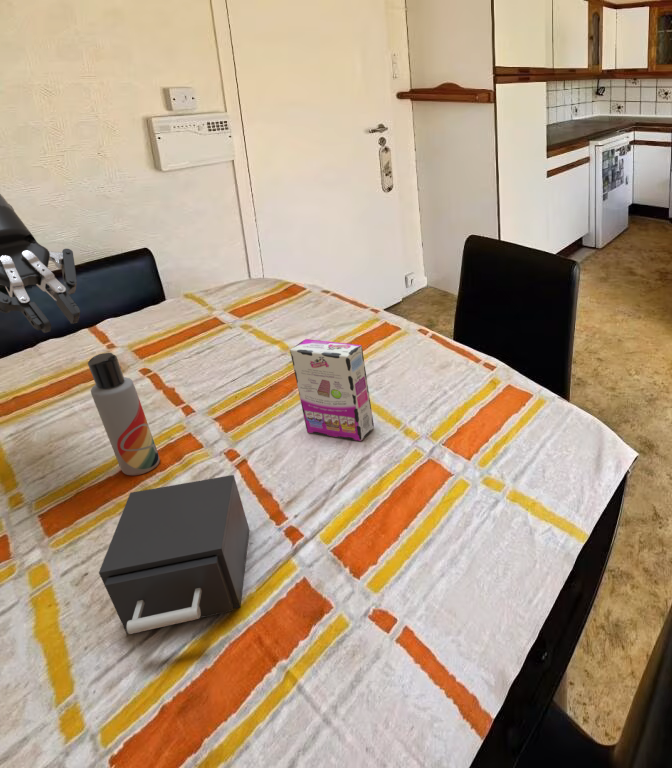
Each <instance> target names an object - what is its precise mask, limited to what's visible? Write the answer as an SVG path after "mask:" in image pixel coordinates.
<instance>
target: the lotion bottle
mask: <svg viewBox="0 0 672 768" xmlns="http://www.w3.org/2000/svg"><path fill="white" fill-rule="evenodd" d="M87 366H88V368H89V371H90V373H91V376H92V378H93V381H94V383H95V384H94V385H93V386H92V387H91V389H90V393H91V397H92V399H93V402H94V404H95V407H96V409H97V412H98V415H99V417H100V420H101V422H102V426H103V427H104V430H105V433H106V435H107V438H108V440H109V443H110V445H111V448H112V451H113V453H114V455H115V458H116V461H117V463H118V466H119V468H120V470H121V472H122V473H123V474H124V475H127V476H139V475H143V474H146V473H149V472H151V471H152V470H154V469H155V468H156V467H158V466H159V464H160V462H161V460H160V455H159V451H158V449H157V445H156V442H155V440H154V438H153V434H152V431H151V429H150V425H149V423H148V421H147V417H146V414H145V412H144V409H143V406H142V402H141V400H140V397H139V395H138V391H137V389H136V385H135V383H134V381H133V379H132V378H130V377H125V376H124V374H123V371H122V368H121V365H120V362H119V359H118V357H117V356H116V355H115V354H114V353H113V352H105V353H99V354H96V355H95V356H93V357H91V358H90V359H89V360H88V362H87Z"/></svg>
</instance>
